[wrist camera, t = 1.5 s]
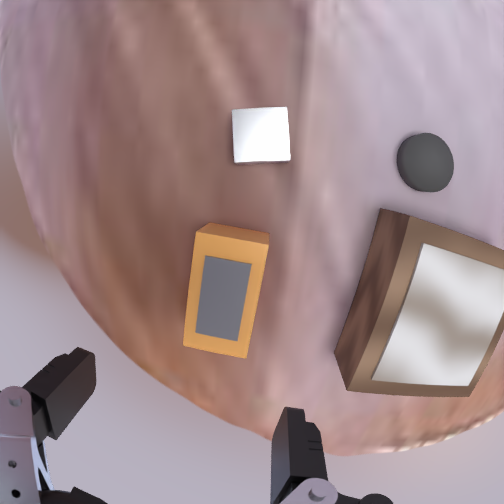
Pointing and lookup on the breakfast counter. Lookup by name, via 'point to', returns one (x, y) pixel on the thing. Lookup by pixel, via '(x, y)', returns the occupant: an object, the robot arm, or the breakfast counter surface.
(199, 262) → the block
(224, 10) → the breakfast counter surface
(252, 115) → the grey metal block
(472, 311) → the brown square box
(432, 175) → the black rubber puck
